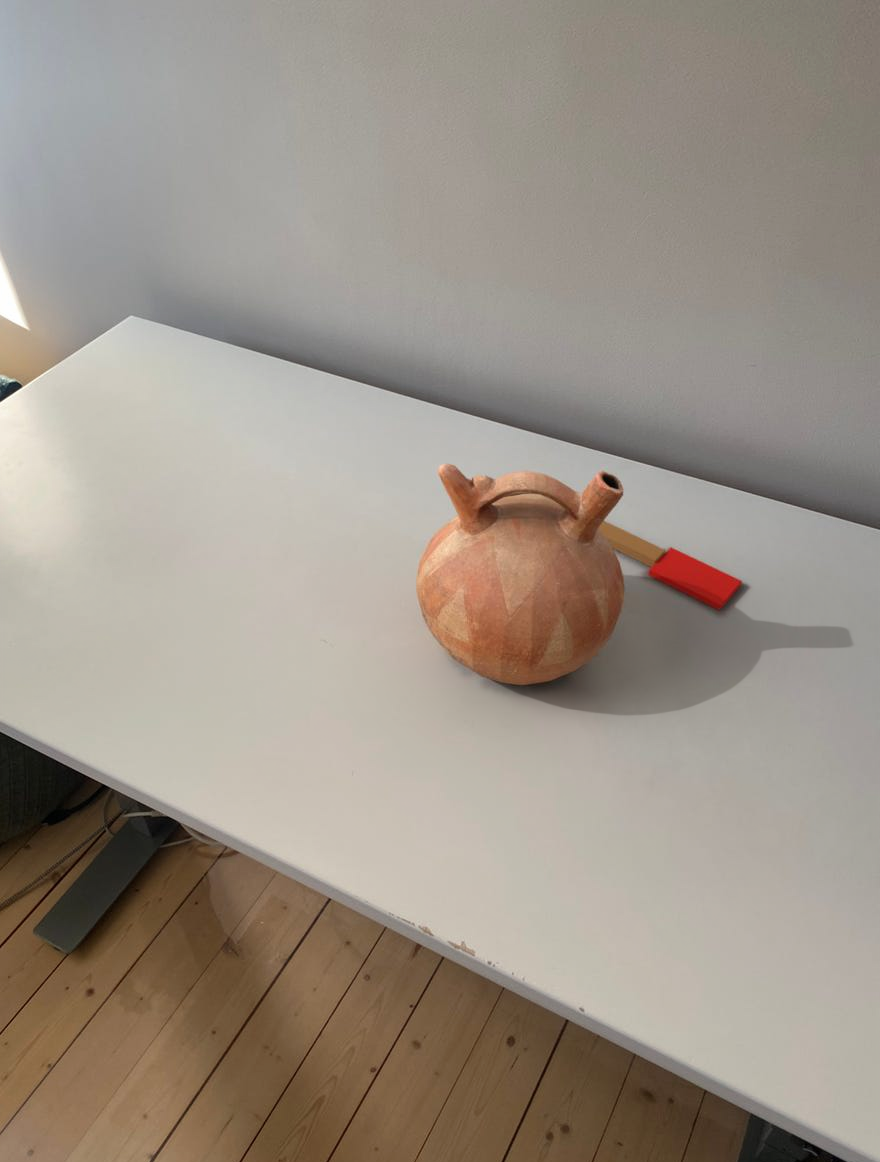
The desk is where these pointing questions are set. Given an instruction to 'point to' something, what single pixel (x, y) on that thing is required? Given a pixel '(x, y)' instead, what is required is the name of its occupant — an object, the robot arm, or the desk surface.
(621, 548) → the spatula
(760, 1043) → the desk surface
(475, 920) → the desk surface
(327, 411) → the desk surface
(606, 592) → the jug
